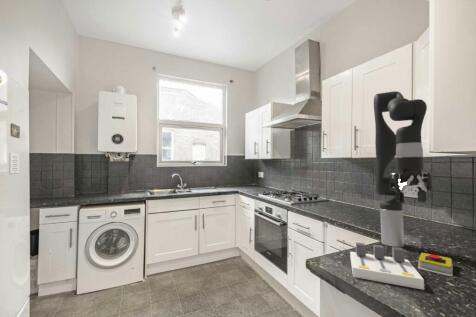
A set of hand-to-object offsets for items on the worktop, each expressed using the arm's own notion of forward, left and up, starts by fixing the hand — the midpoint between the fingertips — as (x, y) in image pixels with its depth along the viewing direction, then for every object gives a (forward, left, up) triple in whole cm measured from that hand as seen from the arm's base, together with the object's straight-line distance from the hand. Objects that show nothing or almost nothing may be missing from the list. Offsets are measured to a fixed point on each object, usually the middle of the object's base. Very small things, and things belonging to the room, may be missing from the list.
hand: (411, 202), depth 76 cm
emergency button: (-14, +10, -26) cm, 31 cm away
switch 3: (-4, -4, -21) cm, 22 cm away
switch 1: (-4, -16, -21) cm, 27 cm away
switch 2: (-4, -10, -21) cm, 24 cm away
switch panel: (+1, -10, -25) cm, 27 cm away
